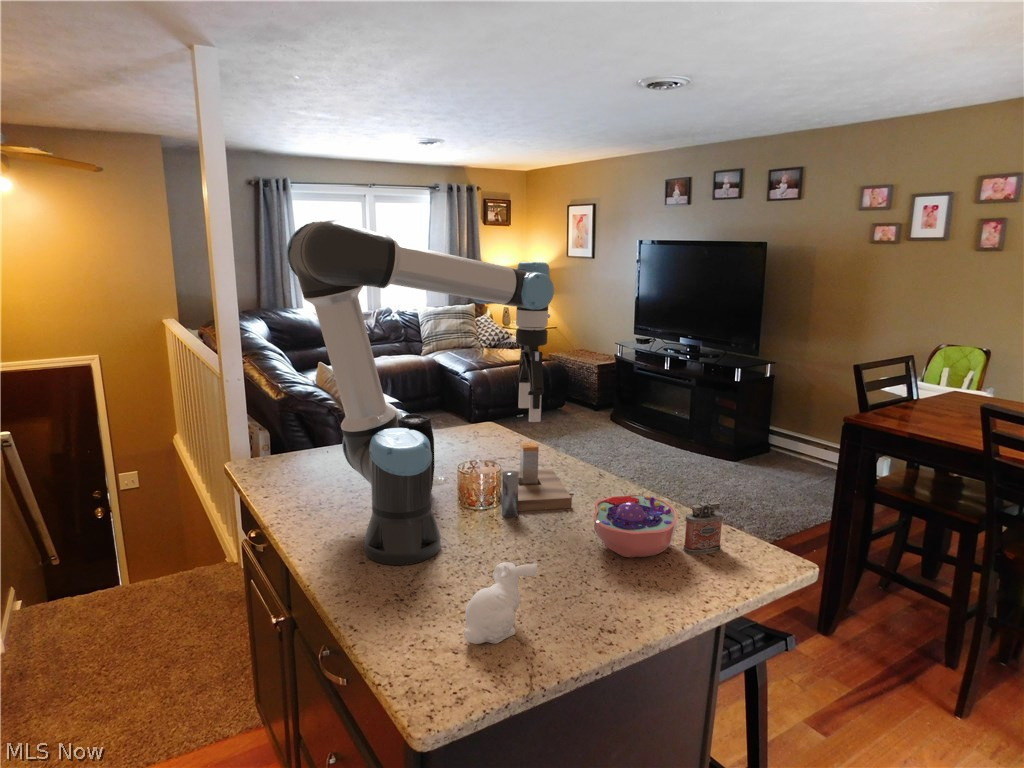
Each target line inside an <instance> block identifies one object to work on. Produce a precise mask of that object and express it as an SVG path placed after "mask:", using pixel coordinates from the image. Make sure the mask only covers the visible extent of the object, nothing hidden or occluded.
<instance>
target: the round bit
mask: <svg viewBox="0 0 1024 768" xmlns="http://www.w3.org/2000/svg"><path fill="white" fill-rule="evenodd" d="M516 471H517V470H504V472H503V481H502V505H501V517H503V518H506V519H514V518H517V517H518V516H519V513H518V512H519V511H518V479H519V473H518V472H516Z"/></svg>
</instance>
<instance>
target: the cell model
mask: <svg viewBox="0 0 1024 768" xmlns="http://www.w3.org/2000/svg"><path fill="white" fill-rule="evenodd" d="M594 511H595V512H594V514H593V521H594V532H595V534H596V536H597V537H599V539H600V540H601V542H603V543H604V545H605V546H606V547H607V548H608V549H609V550H610V551H612V552H614V553H616V554H618V555H620V556H622V557H625V558H644V557H650V556H651V557H652V556H656V555H658V554H660V553H662V552H664V551H666V549H667V548H669V546H670V545H671V543H672V541H673V540H674V536H675V533H676V529H677V522H678V512H677V511H676V509H675V508H674V507H673V506H672V505H671V504H670V503H669V502H668V501H666V500H664V499H659V498H657V497H654V496H649V495H640V494H639V495H638V494H633V495H614V496H609V497H606V498H602V499H600V500H598V501H596V502H595V503H594Z"/></svg>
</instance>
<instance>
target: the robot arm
mask: <svg viewBox="0 0 1024 768" xmlns="http://www.w3.org/2000/svg"><path fill="white" fill-rule="evenodd" d="M286 259H287V263H288V266H289V267H290V269H291V271H292V272H293V274H294V275H295V276H296V277H297V279H298V280H297V281H298V282H299V287H300V290H301V293H302V296H303V299H304V300H305V301H307V302H308V303H310V304H312V305H313V307H314V309H315V313H316V316H317V321H318V323H319V327H320V330H321V334H322V337H323V341H324V344H325V348H326V352H327V355H328V359H329V362H330V365H331V369H332V373H333V376H334V380H335V383H336V387H337V392H338V394H339V397H340V401H341V404H342V407H343V408H342V409H343V413H344V414H345V415H344V418H343V420H342V422H341V423H340V428H341V431H342V435H343V437H342V445H341V446H342V452H343V455H344V457H345V460H346V461H347V463H348V465H350V467H351V468H352V469H353V470H354V471H355V472H356V473H358V474H360V475H361V476H362V478H364V479H365V480H366V481H367V482H368V483H369V484H370V487H371V508H372V509H371V510H372V511H371V517H370V519H369V523H368V526H367V528H366V531H365V536H364V540H363V545H364V548H363V550H364V554H365V556H366V557H368V558H369V560H371V561H373V562H376V563H379V564H382V565H387V566H388V565H389V566H406V565H407V566H408V565H412V564H417V563H421V562H424V561H426V560H429V559H431V558H433V557H434V556H435V555H436V554H438V553H439V551H440V550H441V543H442V542H441V538H442V537H441V533H440V530H439V527H438V525H437V522H436V519H435V516H434V513H433V510H432V491H431V461H432V453H431V448H430V442H429V440H428V438H427V437H426V436H425V435H424V434H422V433H421V432H418V431H416V430H409V429H407V428H399V424H398V417H397V413H396V410H395V409H393V408H391V407H389V406H388V405H387V404H386V400H385V396H384V392H383V387H382V385H381V384H382V383H381V380H380V377H379V372H378V369H377V365H376V364H377V363H376V361H375V356H374V353H373V349H372V345H371V342H370V338H369V333H368V330H367V327H366V322H365V318H364V316H363V311H362V307H361V303H360V299H359V294H360V292H361V290H362V289H363V287H372V288H379V289H386V288H388V286H390V285H393V286H400V287H406V288H411V289H416V290H423V291H427V292H435V293H439V294H446V295H450V296H457V297H461V298H467V299H472V301H473V302H475V303H476V304H486V305H490V304H491V305H492V304H494V305H495V304H497V305H502V306H510V307H516V314H515V315H516V316H515V317H516V318H515V325H516V326H517V328H516V330H515V343H516V344H517V345H519V346H520V354H519V355H520V356H519V361H518V363H519V364H518V371H517V379H518V407H517V408H518V409H528V422H529V423H541V419H542V395H544V394H545V384H544V371H543V352H542V351H540V349H539V347H542V346H546V345H547V344H548V329H547V327H548V324H549V322H548V321H549V320H548V319H550V318H551V314H550V313H549V305H550V303H551V302H552V301H553V298H554V294H555V286H554V283H553V281H552V279H551V278H550V277H551V275H550V274H551V271H550V265H549V264H548V262H543V261H542V262H541V261H539V262H538V261H535V262H534V261H520V262H519V263H518V265H517V268H512V267H509V266H504V265H499V264H495V263H492V262H491V263H490V262H485V261H482V260H478V259H471V258H467V257H462V256H458V255H454V254H453V255H452V254H449V253H444V252H439V251H436V250H435V251H434V250H431V249H425V248H422V247H417V246H412V245H409V244H404V243H403V244H402V243H398V242H397V241H396V239H395V238H394V237H393V236H392V235H389V234H384V233H381V232H376V231H373V230H370V229H367V228H363V227H361V226H357V225H355V224H352V223H348V222H345V221H342V220H336V219H335V220H334V219H333V220H325V221H322V220H321V221H312V222H309V223H305V224H304V225H303V226H300V227H299V228H298V229H297V230H296V231H294V233H292V234H291V236H290V238H289V240H288V243H287V246H286Z"/></svg>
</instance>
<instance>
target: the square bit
mask: <svg viewBox="0 0 1024 768" xmlns="http://www.w3.org/2000/svg"><path fill="white" fill-rule="evenodd" d="M539 448H540V447H539V446H538V444H537V443H536V442H520V449H519V451H520V453H519V471H520V486H526V485H538V470H539V453H540V452H539V451H540V450H539Z"/></svg>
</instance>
